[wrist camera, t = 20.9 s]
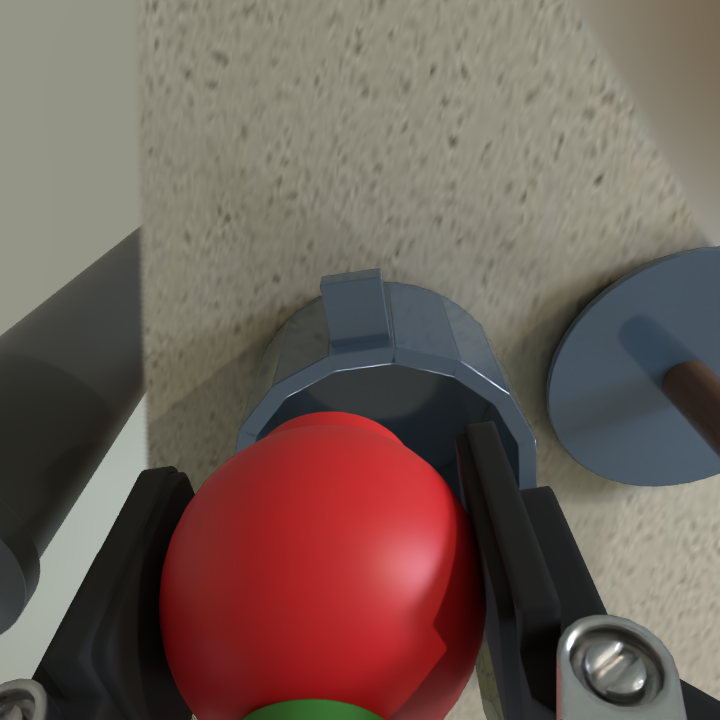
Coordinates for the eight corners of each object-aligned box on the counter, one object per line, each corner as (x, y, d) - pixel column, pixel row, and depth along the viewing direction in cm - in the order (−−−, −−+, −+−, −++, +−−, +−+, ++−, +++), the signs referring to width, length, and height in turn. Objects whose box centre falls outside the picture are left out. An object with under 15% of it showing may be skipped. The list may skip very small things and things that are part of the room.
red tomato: (332, 601, 13) (317, 906, 9) (152, 476, 12) (7, 772, 7) (511, 482, 12) (616, 779, 7) (332, 314, 10) (306, 558, 5)
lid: (543, 487, 35) (581, 581, 29) (541, 266, 29) (591, 325, 22) (788, 459, 34) (883, 549, 28) (848, 221, 27) (991, 270, 21)
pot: (297, 530, 37) (283, 633, 31) (218, 252, 28) (173, 313, 22) (506, 506, 36) (538, 607, 30) (493, 209, 27) (534, 260, 21)
